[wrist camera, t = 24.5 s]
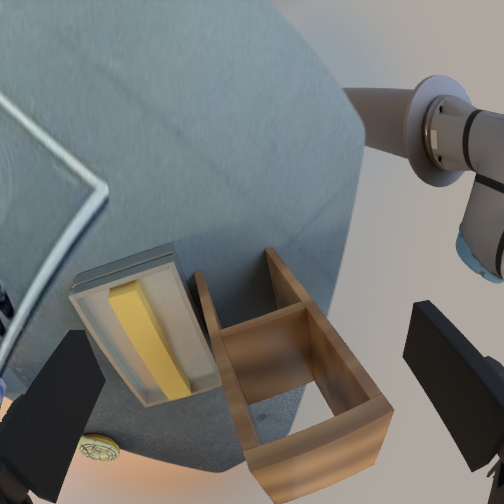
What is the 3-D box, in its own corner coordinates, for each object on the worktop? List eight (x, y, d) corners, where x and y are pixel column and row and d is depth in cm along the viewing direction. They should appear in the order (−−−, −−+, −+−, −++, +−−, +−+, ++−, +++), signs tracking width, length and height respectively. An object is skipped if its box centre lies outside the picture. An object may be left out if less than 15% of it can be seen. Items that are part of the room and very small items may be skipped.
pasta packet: (109, 286, 38) (107, 299, 35) (137, 277, 38) (136, 290, 36) (168, 387, 48) (169, 400, 46) (189, 381, 49) (192, 395, 46)
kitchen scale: (76, 274, 39) (67, 296, 34) (171, 242, 41) (174, 261, 36) (146, 387, 52) (147, 410, 47) (221, 365, 54) (227, 388, 49)
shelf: (193, 272, 44) (249, 471, 18) (272, 246, 46) (394, 409, 20) (219, 339, 51) (275, 505, 25) (285, 316, 53) (374, 464, 27)
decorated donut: (73, 428, 53) (72, 441, 50) (117, 433, 57) (117, 446, 53) (80, 448, 57) (80, 460, 53) (120, 452, 60) (121, 465, 57)
